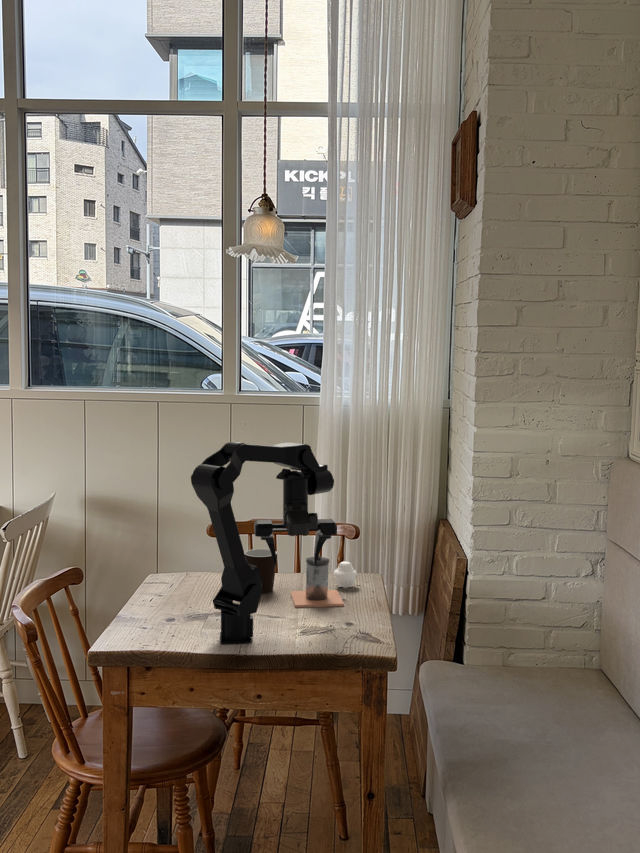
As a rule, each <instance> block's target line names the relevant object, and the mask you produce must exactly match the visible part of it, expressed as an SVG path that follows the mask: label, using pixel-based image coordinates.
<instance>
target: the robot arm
mask: <svg viewBox="0 0 640 853" xmlns="http://www.w3.org/2000/svg"><path fill="white" fill-rule="evenodd" d="M245 462H257V463H258V462H261V463H273V464H275V465H277V466H280V467H285V468H282V469H281V471H280V472H278V474H277V475H276V477H275V478H276V479H277V480H282V523H273V521H272V519H257V520H255V521H254V523H253V524H254V525H253V530H254V531H253V533H254V536H255V537H260V540H262V541H265V542H266V545H267V547H268V548H269V549H270V552H271V555H272V558H273V562H274V565H276V566H277V561H276V552H275V551H276V547H275V546H276V545H275V536H274V533H281V532H282V533H283V532H287V535H288V536H289V537H295V536H303V537H305V536H309V534H310V532H315V539H314V548H313V549H314V550H313V557H314V564H316V563H317V560H318V557H319V556H320V555H321V551H322V548H323V546H324V544H325V543H326V541H327V540H328V539H329V540H330V539H332V536H337V535H338V525H337V523H336V521H335V520H334V519H333V518H319V516H318V512H309V496H314V495H319V494H325V493H329V492H331V491H332V489H334V486H335V479H334V476H333V474H332V473H331V471H330V470H329V469H328V468H329V467H328V466H329V465H328V464H325V463H319V461H318V460H317V459H316V456H315V455H314V453H313V450H312V448H311V446H310V445H309V444H307V443H297V442H288V441H287V442H281V443H277V444H273V445H265V444H254V443H253V444H251V443H245V442H238V441H228V442H226V443H225V444H223V446H222V447H221V448H220V449H219V450H217V451H216V452H213V454H211V455H210V456H208V457H207V458H205V459H204V460H203V461H202V462H201V463H200V464H198V465H197V466H196V467H195V468H194V470H193V473H192V474H191V476H190V483H191V485H192V488H193V490H194V492H195V494H196V496H197V497H198V499H199V500H200V501H201V503H202V504H203V505H204V506H205V507H206V509H207V511H208V515H209V519H210V521H211V525H212V528H213V532H214V535H215V539H216V543H217V546H218V551H219V552H220V556H221V560H222V563H223V571H222V574H221V579H220V581H221V587H220V588H219V590H218V592H217V594H215V596H214V597H213V599H212V603H213V607H214V609H215V610H219V611H220V632H219V640H220V641H219V642H220V644H246V643H248V644H249V643H252V638H254V617H253V615H252V614H256V613H257V612H258V608H259V605H260V604H259V603H260V600H261V597H262V594H261V593H262V584H261V583H263V581H262V579H261V577H260V570H259V568H258V566H254V565H250V564H248V563H247V561H246V557H245V554H244V552H245V551H244V550H245V549H244V546H243V544H242V540H241V536H240V533H239V529H238V525H237V522H236V518H235V515H234V514H235V513H234V511H233V507H232V499H233V495H234V493H235V487H234V482H235V481H236V480H237V479H238V477H239V476H241V472H242V469H243V465H244V463H245ZM225 465H226V466H225ZM288 468H289V469H288ZM318 518H319V519H318ZM234 601H235V602H234ZM237 602H238V603H237Z"/></svg>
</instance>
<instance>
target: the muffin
mask: <svg viewBox="0 0 640 853" xmlns="http://www.w3.org/2000/svg"><path fill="white" fill-rule="evenodd" d="M357 575H358V573H357V570H355V568H354V567H353V563H351V562H350V561H346V560H344V561H341V562H339V564H338V567H337V568H336V569H335V570H334V571H333V576H334V579H335V581H336V583H337V585H338V588H340V587H351V588H352V586H353V585H354V583H355V581H356V579H357V578H356V577H357Z"/></svg>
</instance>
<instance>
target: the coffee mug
mask: <svg viewBox="0 0 640 853" xmlns="http://www.w3.org/2000/svg"><path fill="white" fill-rule="evenodd" d="M275 552H276V562H277V559H278V551H276V550H275ZM244 554H245V557H246V561H247V563H248V564H250V565H254V566H258V568H259V570H260V577H261V579H262V581H263V583H261V584H262V593H261V595H265V594H270V593H272V592H273V591H274V584H275V583H274V582H275V577H276V569H277V568H276V567H277V564H276V565H274V562H273V558H272V555H271V552H270V549H268V548H256V549H254V548H253V549H247V550H246V551H244Z"/></svg>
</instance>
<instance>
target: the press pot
mask: <svg viewBox="0 0 640 853" xmlns="http://www.w3.org/2000/svg"><path fill="white" fill-rule="evenodd" d="M305 563H306V573H305V574H306V575H305V576H306V577H305V591H306V598H307V599H310V600H325V599H327V596H328V590H329V564H330V558H327V557H323V556H321V555H319V557H318V560H317V563H316V564H314V556H310V557H306V559H305Z"/></svg>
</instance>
